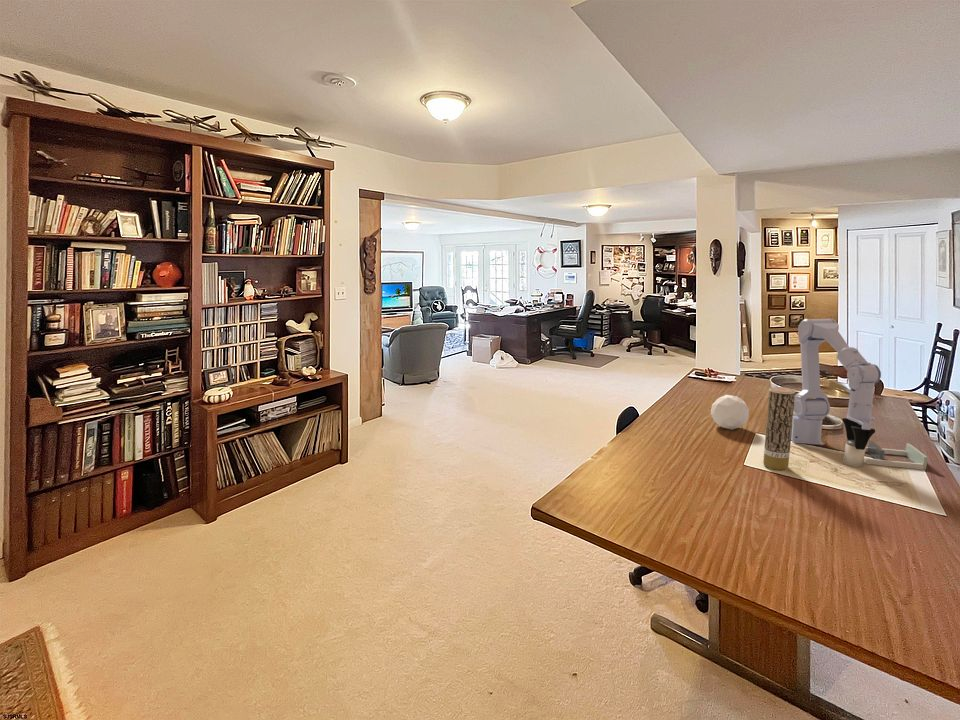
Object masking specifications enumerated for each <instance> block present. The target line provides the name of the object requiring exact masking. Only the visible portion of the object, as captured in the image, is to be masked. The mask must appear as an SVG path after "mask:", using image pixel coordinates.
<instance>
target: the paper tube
mask: <svg viewBox="0 0 960 720" xmlns="http://www.w3.org/2000/svg"><path fill="white" fill-rule="evenodd" d="M795 395H796V389H793V388H789V387H781V386H780V387H779V386H775V387H774V386H772V387H769V391H768V401H767V402H768V403H767V412H766V413H767V414H766V425H765V437H764V450H763V459H762V460H763V462H762V463H763V465H764V466H765V467H766V468H769V469H771V470H777V471H784V470H787V469H789V462H790V454H791V453H790V451H791V442H792V440H791V433H792V422H793V416H794V413H795V412H794V401H795Z"/></svg>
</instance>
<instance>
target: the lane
mask: <svg viewBox="0 0 960 720" xmlns="http://www.w3.org/2000/svg"><path fill="white" fill-rule="evenodd" d="M881 448H882V447H881ZM882 449H883V450H884V455H894V456H904V457H907V458H908V459H909V460H910V461H912V462H910V461H909V462H908V461H898V460H888V459H883V460H879V459H875V458H866V459H865V460H866V461H865V464H868V465H876V466H877V465H879V466H887V467H897V468H906V469H916V470H927V464H928V458H929V457H928V456H927V455H926V454H924V452H921V451H920V450H919V449H918V448H917V447H915V446H913V445H912V444H911V443H906V445H905V450H903V449H893V448H882ZM865 453H868V446H866V447H865Z"/></svg>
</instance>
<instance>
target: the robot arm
mask: <svg viewBox="0 0 960 720" xmlns="http://www.w3.org/2000/svg"><path fill="white" fill-rule="evenodd" d="M839 325H840V324H838V323H837V321H836V320H835V319H834V318H832V317H831V318H823V319H822V318H813V319H812V318H804V319H803V320H801V322H800V323H799V324H798V326H797V328H798V329H797V331H798V332H797V333H798V342H799V343H800V359H801V360H800V361H801V362H800V363H801V364H800V365H801V383H802V384H801V387H802V390H801V391H799V392H798V393H795V401H794V412H793V413H794V414H795V415H793V422H792V433H791V442H792V443H793V444H794V443H795V444H808V445H817V446H824V445H825V443H824V442H823V441H822V439H821V438H822V429H823V420H824V419H826V416H828V415H829V413H830V412H831V405H830V402H829V397H828V395H827V394H826V393H824V392H823V391H822V390H821V377H820V376H821V375H820V374H821V373H820V355H819V354H820V353H819V351H820V349H819V346H820V345H821V344H823V343H824V342H827V344H829V345H830V347H832V349H833V350H834V351H836V353H837V355H836V358H837V359H836V360H838V361H839V362H840V364H841V365H842V366H843V368H844V369H845V370H846V371H847V372H846V377H847V380H848V388H850V390H849V397H848V398H849V399H848V409H847V413H846V417H842V418H841V421H842V422H843V425H844V427H845V428H844V429H845V434H846V439H847V440H855V448H856V449H861V450H864V449H865V447H867V445H868V444H869V440H870V438H871V437H872V436H873V435H874V434H875V433H876V429H875V428H872V422H875V421H876V418H875V417H874V416H872V410H873V409H872V408H873V402H874V401H873V400H874V393H875V385H876V384H877V383H879V382H880V380H881V378H882V372H881V370H880V368H879V366H878V365H877V364H873V363H871V362H868V361H867V359H865V358H864V356H863V355H862V354H861V352H859V350H858V348H855V347H854V346H853V347H852V346H851V347H850V346H849V345H848V343H847V341H846V340H845V339H844V338H843V336H842V335H841V333H840V331H839V327H840V326H839ZM847 440H846V441H847Z"/></svg>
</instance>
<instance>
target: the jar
mask: <svg viewBox="0 0 960 720" xmlns="http://www.w3.org/2000/svg"><path fill="white" fill-rule="evenodd" d="M865 455H866V452H865V449H864V450H861V449H856V448H855V440H846V442H845V446H844V455H843V461H842V462H843V464H844V465H846V466H849V467H853V468H862V467H864V464H865V463H864V461H865Z"/></svg>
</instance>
